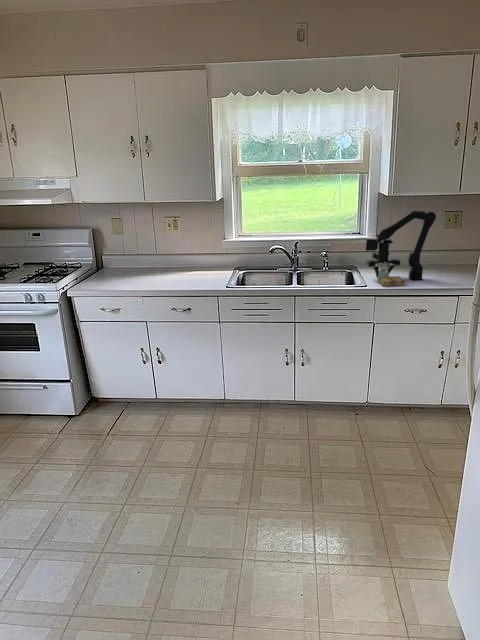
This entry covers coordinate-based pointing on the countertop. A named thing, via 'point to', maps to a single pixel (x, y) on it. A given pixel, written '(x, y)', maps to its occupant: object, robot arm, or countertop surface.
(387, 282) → the walnut stand
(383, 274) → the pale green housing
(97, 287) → the countertop surface
